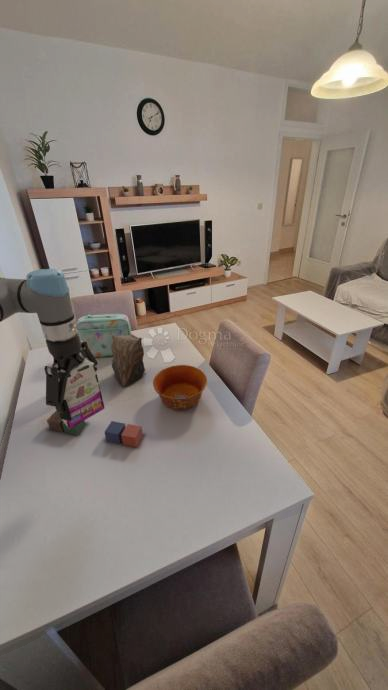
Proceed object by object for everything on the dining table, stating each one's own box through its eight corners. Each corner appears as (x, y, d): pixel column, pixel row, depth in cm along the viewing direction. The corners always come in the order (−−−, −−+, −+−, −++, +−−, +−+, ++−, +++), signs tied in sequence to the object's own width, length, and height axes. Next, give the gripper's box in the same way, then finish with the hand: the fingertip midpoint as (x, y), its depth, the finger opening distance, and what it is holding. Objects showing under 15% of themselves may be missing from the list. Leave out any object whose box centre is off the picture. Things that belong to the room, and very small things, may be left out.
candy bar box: (96, 401, 85) (86, 356, 77) (105, 409, 82) (95, 363, 74) (60, 420, 78) (44, 373, 69) (68, 430, 75) (53, 381, 67)
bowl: (157, 422, 101) (155, 401, 96) (152, 386, 119) (150, 367, 114) (212, 414, 105) (213, 393, 100) (199, 380, 123) (200, 361, 118)
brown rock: (112, 374, 127) (105, 336, 117) (137, 365, 133) (133, 328, 123) (123, 388, 118) (116, 348, 108) (149, 378, 124) (145, 339, 114)
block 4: (123, 445, 92) (121, 435, 90) (129, 434, 96) (127, 423, 94) (137, 448, 91) (135, 437, 88) (142, 436, 95) (141, 426, 93)
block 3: (106, 442, 93) (104, 431, 91) (113, 431, 97) (111, 420, 95) (120, 445, 92) (118, 434, 90) (126, 433, 96) (125, 423, 94)
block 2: (65, 433, 96) (61, 423, 94) (73, 423, 101) (70, 413, 98) (77, 436, 95) (74, 426, 93) (86, 425, 100) (83, 415, 97)
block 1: (50, 430, 98) (46, 420, 95) (59, 420, 102) (56, 410, 99) (62, 433, 97) (59, 423, 94) (71, 422, 101) (68, 412, 98)
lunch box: (78, 361, 136) (68, 322, 126) (81, 350, 145) (72, 313, 134) (133, 355, 141) (128, 317, 130) (133, 345, 150) (128, 308, 139)
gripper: (39, 364, 56) (64, 438, 67) (101, 317, 76) (113, 380, 87) (9, 359, 57) (38, 432, 68) (78, 314, 78) (92, 376, 88)
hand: (80, 403), depth 78 cm, fingers closed on candy bar box, 12 cm apart
